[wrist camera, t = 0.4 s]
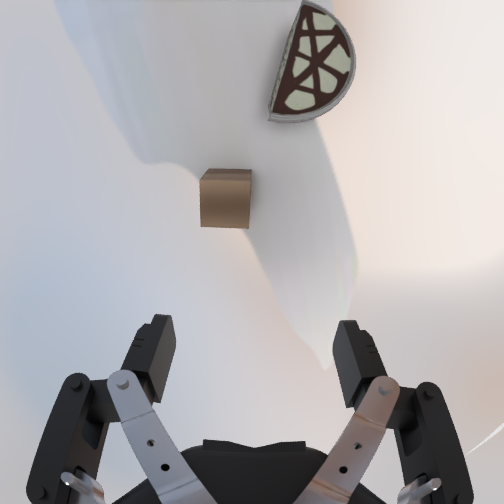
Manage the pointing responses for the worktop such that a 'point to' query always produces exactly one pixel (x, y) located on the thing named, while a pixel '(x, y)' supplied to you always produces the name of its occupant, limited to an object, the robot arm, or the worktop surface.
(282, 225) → the worktop surface
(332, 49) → the food container
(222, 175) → the walnut block
